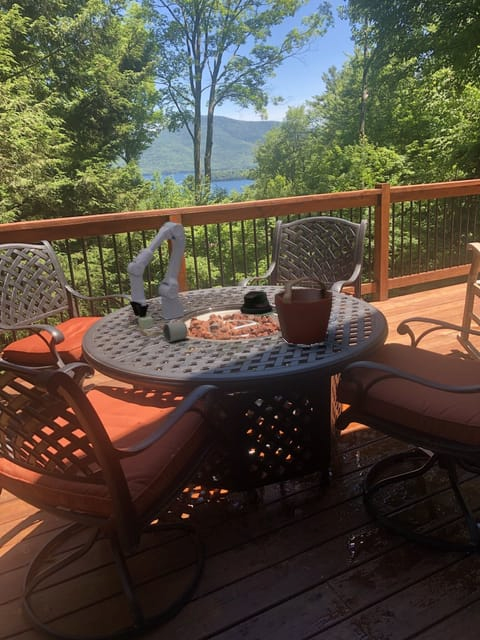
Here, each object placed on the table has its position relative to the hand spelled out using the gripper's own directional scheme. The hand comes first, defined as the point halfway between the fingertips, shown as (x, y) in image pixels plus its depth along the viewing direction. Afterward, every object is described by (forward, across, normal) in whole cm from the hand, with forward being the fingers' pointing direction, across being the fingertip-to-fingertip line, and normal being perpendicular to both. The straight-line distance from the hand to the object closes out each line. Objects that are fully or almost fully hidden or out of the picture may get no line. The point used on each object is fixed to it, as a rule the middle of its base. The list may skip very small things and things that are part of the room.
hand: (140, 317), depth 222 cm
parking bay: (+2, +15, 0) cm, 16 cm away
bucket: (+3, +63, +44) cm, 77 cm away
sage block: (+2, +7, 0) cm, 7 cm away
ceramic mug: (+3, +31, +3) cm, 31 cm away
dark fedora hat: (+3, +16, +53) cm, 56 cm away
